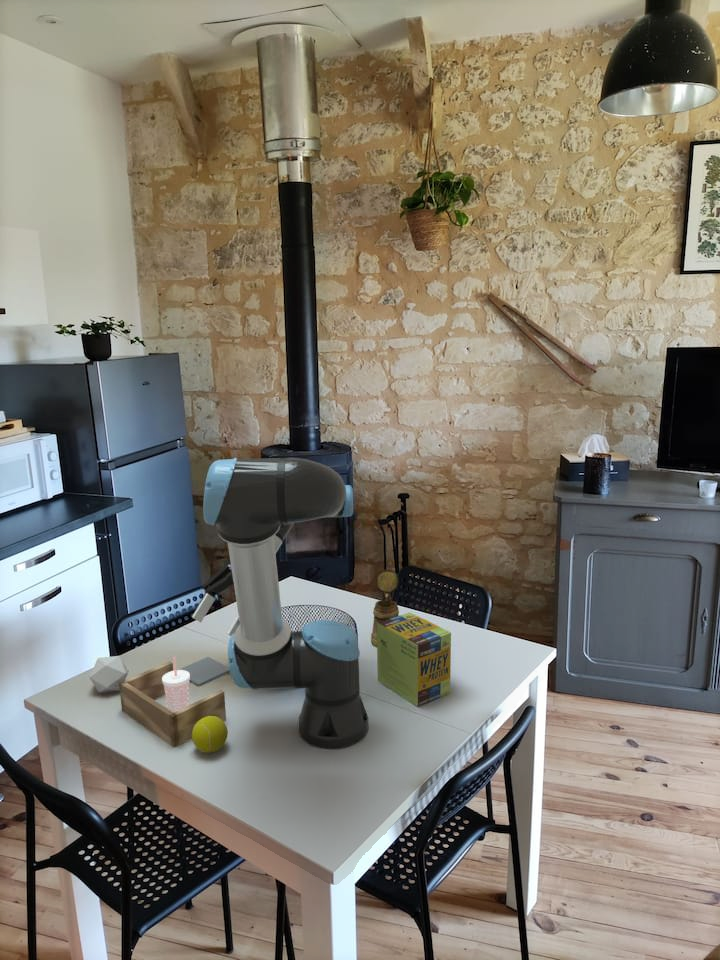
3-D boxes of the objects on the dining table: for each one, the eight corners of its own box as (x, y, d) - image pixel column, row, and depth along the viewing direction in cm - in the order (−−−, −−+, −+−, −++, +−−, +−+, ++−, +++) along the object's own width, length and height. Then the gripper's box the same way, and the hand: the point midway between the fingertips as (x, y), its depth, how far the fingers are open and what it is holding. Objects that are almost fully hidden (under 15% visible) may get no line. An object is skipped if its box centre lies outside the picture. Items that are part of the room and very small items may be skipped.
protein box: (417, 708, 157) (417, 645, 154) (376, 680, 169) (375, 621, 166) (451, 693, 163) (452, 632, 160) (409, 667, 175) (409, 610, 172)
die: (112, 703, 162) (133, 665, 164) (78, 687, 162) (100, 649, 164) (118, 698, 170) (138, 661, 172) (86, 682, 170) (106, 646, 172)
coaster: (231, 670, 175) (231, 668, 175) (198, 686, 168) (198, 684, 168) (208, 658, 182) (208, 656, 182) (175, 673, 175) (175, 671, 174)
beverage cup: (161, 720, 154) (156, 662, 151) (169, 705, 160) (164, 649, 157) (188, 720, 154) (183, 662, 151) (196, 705, 160) (191, 649, 157)
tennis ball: (211, 735, 148) (208, 706, 146) (235, 745, 144) (233, 715, 143) (186, 752, 142) (183, 722, 141) (210, 763, 139) (208, 732, 137)
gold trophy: (405, 628, 198) (405, 568, 194) (402, 649, 185) (401, 586, 181) (374, 626, 199) (373, 567, 195) (368, 648, 186) (367, 585, 182)
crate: (172, 687, 168) (169, 661, 166) (226, 720, 153) (224, 691, 152) (121, 710, 158) (118, 682, 157) (174, 747, 144) (171, 717, 142)
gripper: (303, 569, 163) (257, 650, 155) (237, 547, 179) (192, 619, 172) (285, 553, 158) (237, 636, 150) (219, 532, 174) (172, 606, 167)
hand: (213, 628), depth 161 cm, fingers open, 13 cm apart
